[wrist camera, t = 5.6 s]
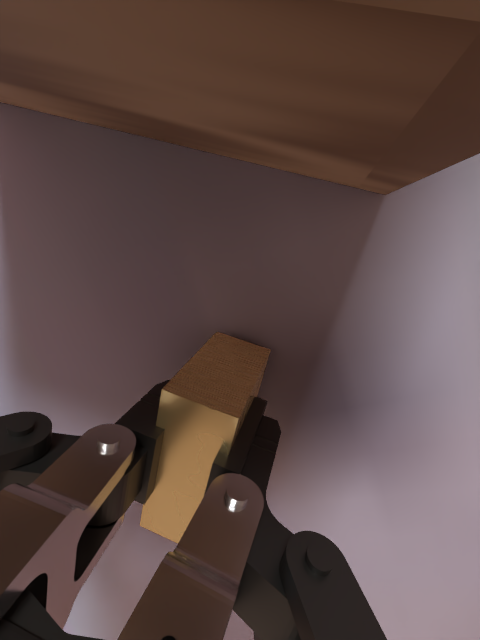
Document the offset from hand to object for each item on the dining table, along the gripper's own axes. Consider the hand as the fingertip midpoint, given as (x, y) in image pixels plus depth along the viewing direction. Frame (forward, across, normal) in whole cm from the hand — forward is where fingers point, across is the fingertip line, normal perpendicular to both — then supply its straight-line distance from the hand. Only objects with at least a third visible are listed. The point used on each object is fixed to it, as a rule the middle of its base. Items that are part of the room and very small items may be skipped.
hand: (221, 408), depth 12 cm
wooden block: (+1, 0, 0) cm, 1 cm away
